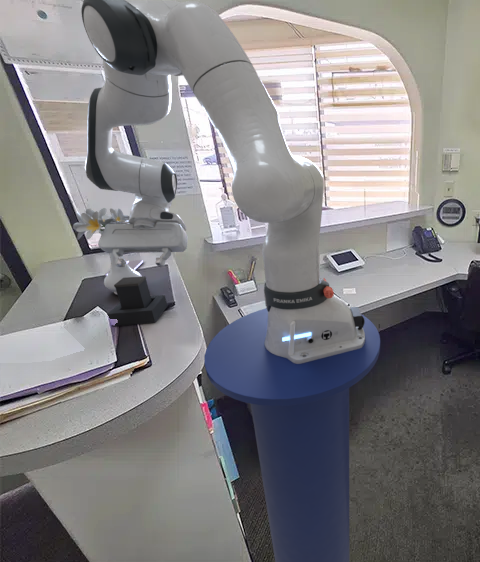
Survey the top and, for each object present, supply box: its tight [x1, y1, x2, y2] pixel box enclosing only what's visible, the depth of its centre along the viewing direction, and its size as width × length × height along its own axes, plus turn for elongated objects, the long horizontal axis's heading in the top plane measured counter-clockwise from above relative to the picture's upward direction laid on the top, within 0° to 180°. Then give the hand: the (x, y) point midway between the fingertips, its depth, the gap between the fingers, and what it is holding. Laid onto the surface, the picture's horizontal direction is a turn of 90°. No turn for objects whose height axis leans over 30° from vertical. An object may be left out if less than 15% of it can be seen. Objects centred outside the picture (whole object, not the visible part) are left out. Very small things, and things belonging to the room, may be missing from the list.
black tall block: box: [114, 275, 152, 310], centre depth 79 cm, size 5×5×10 cm
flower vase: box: [72, 207, 143, 296], centre depth 90 cm, size 13×18×25 cm
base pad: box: [106, 294, 168, 327], centre depth 80 cm, size 9×9×4 cm
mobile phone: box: [104, 259, 144, 277], centre depth 111 cm, size 8×1×15 cm
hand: (140, 265), depth 81 cm, fingers open, 8 cm apart
